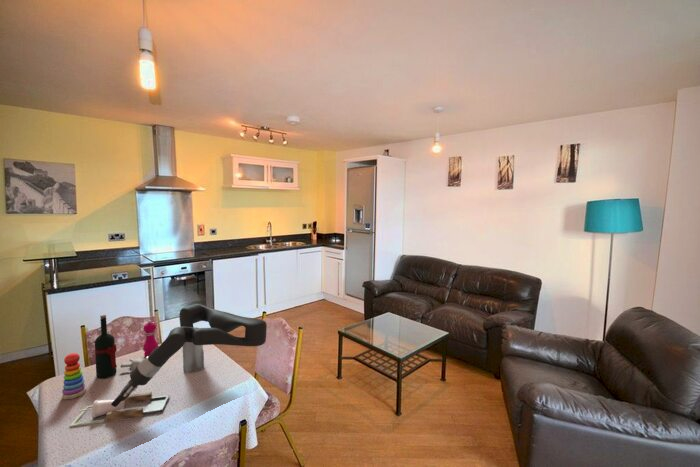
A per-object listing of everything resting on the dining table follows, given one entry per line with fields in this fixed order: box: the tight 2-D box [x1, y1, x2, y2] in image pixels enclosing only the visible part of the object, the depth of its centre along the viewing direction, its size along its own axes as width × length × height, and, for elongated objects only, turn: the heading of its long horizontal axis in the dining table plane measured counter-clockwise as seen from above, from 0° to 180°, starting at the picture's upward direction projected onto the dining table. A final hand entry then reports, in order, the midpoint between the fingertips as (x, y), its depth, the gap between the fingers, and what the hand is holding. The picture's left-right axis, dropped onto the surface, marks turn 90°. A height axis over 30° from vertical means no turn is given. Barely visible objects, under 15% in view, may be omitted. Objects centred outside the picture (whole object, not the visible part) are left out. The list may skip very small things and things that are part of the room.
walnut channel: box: [105, 391, 153, 423], centre depth 129 cm, size 12×12×3 cm
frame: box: [68, 404, 106, 428], centre depth 125 cm, size 11×12×1 cm
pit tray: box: [143, 394, 170, 416], centre depth 131 cm, size 7×10×1 cm
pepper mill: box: [142, 319, 159, 358], centre depth 174 cm, size 7×7×20 cm
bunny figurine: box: [120, 357, 145, 372], centre depth 159 cm, size 10×5×15 cm
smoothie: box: [79, 398, 125, 419], centre depth 125 cm, size 6×6×14 cm
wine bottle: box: [94, 314, 118, 380], centre depth 152 cm, size 8×10×30 cm
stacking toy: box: [61, 352, 87, 400], centre depth 137 cm, size 8×8×19 cm
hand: (113, 404), depth 124 cm, fingers closed
